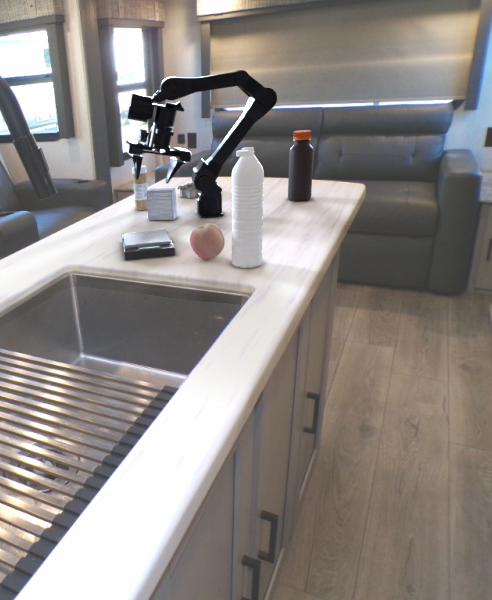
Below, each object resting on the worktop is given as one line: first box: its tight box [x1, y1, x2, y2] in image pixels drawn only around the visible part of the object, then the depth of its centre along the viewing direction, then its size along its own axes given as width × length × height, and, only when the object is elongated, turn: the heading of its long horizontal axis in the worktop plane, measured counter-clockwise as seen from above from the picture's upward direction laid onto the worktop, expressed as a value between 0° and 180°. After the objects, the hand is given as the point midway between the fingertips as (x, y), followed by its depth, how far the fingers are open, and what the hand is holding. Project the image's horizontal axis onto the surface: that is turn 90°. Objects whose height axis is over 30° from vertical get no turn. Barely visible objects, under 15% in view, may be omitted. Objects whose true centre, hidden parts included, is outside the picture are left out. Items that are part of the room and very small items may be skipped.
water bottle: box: [230, 146, 265, 269], centre depth 113 cm, size 9×6×25 cm
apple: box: [189, 222, 226, 260], centre depth 123 cm, size 8×8×8 cm
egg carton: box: [177, 182, 202, 199], centre depth 183 cm, size 11×8×4 cm
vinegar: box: [287, 129, 315, 202], centre depth 161 cm, size 7×7×20 cm
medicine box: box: [146, 187, 178, 221], centre depth 157 cm, size 8×4×9 cm, turn 71°
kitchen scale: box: [121, 228, 176, 261], centre depth 134 cm, size 12×14×3 cm
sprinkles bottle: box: [131, 164, 149, 211], centre depth 169 cm, size 5×5×14 cm
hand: (151, 181), depth 155 cm, fingers open, 9 cm apart
